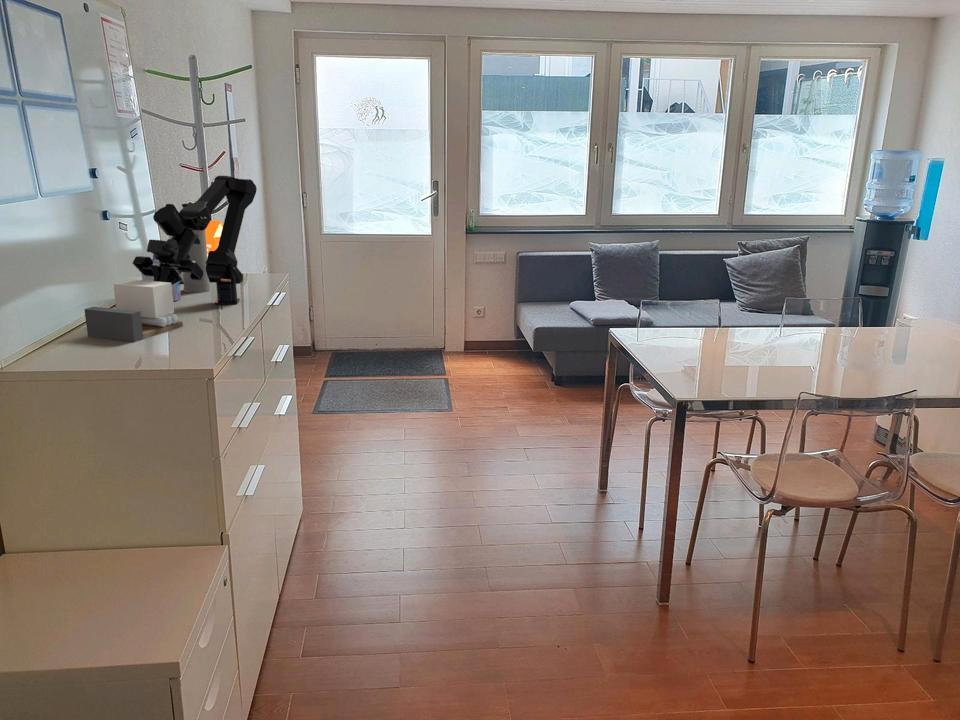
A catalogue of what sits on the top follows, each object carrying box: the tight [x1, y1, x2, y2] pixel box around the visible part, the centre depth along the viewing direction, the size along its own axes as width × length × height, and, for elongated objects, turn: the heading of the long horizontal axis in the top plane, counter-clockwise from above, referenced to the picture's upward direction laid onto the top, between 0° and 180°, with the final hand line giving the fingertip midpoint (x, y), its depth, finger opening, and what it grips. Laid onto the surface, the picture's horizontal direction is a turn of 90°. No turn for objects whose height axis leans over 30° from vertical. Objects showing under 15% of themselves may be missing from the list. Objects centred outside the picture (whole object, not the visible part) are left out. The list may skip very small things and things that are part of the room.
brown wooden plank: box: [142, 320, 184, 340], centre depth 193 cm, size 18×14×1 cm
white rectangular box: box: [112, 279, 179, 327], centre depth 195 cm, size 7×14×10 cm, turn 73°
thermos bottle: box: [181, 202, 211, 294], centre depth 242 cm, size 8×8×28 cm
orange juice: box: [205, 219, 224, 258], centre depth 270 cm, size 8×9×20 cm
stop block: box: [83, 306, 144, 343], centre depth 185 cm, size 3×14×7 cm, turn 73°
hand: (155, 293), depth 198 cm, fingers closed
